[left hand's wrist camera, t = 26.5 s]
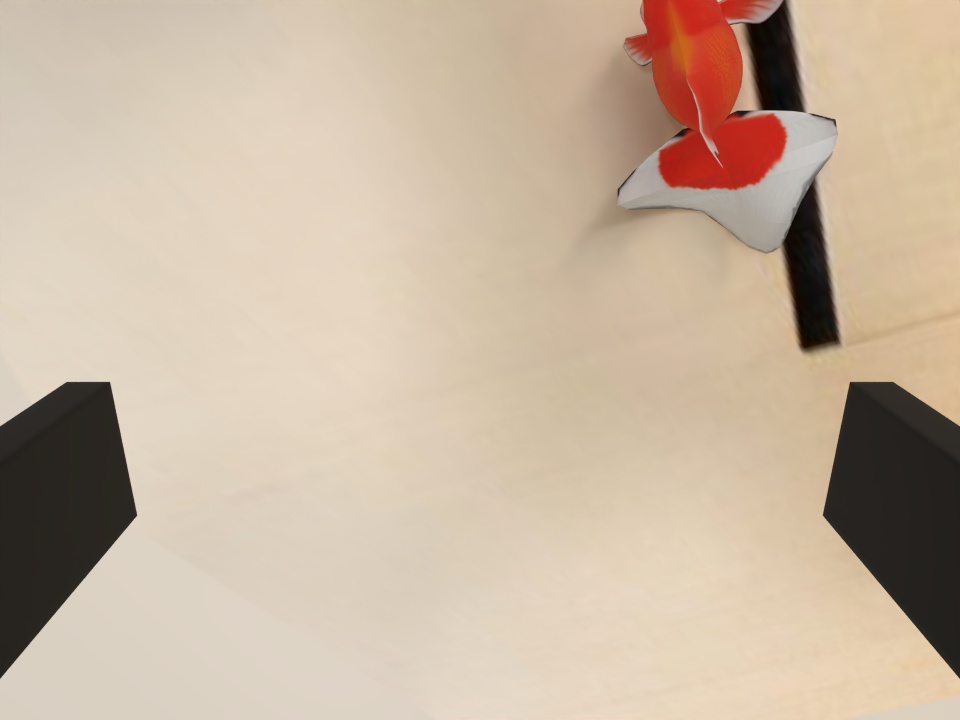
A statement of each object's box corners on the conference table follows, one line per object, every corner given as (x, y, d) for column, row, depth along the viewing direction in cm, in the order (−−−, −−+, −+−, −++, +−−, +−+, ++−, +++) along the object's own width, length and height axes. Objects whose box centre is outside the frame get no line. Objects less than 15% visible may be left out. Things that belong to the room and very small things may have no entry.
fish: (859, -102, 31) (888, -15, 25) (814, 192, 42) (826, 304, 36) (618, -63, 34) (589, 22, 28) (635, 199, 45) (617, 302, 39)
